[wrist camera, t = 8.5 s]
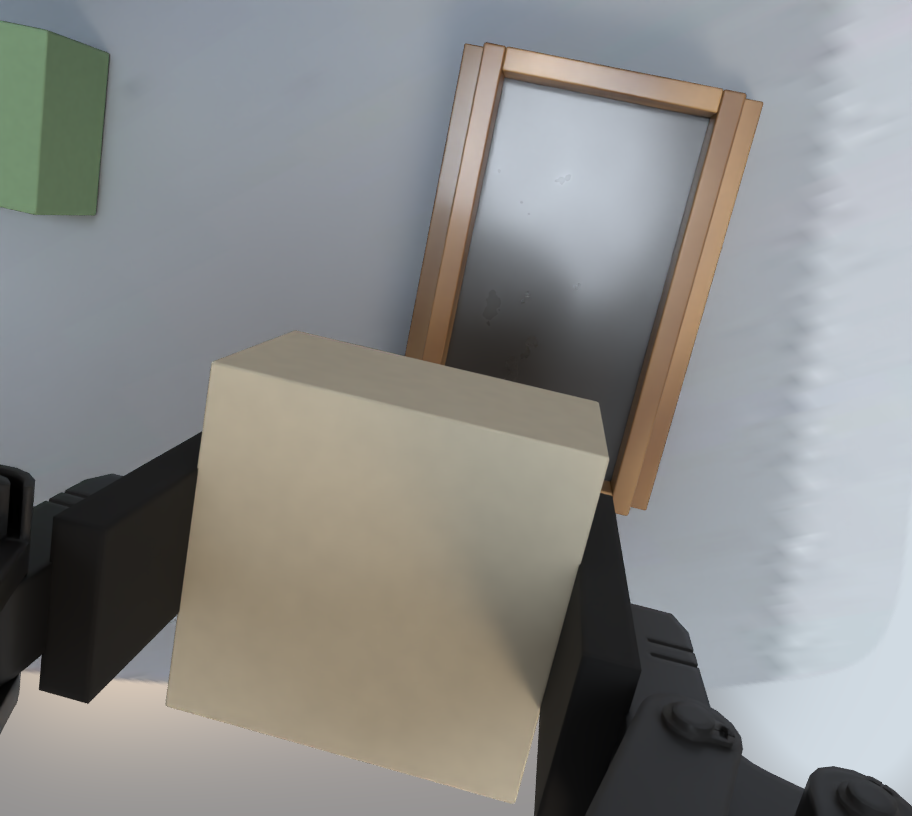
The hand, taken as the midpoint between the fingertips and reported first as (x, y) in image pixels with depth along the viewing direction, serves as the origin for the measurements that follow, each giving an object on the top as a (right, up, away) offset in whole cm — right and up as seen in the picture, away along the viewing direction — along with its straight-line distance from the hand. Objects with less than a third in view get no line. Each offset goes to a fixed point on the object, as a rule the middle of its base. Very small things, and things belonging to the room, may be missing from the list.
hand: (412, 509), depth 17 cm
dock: (+5, +7, +15) cm, 17 cm away
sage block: (-17, +14, +16) cm, 27 cm away
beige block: (0, 0, 0) cm, 0 cm away
